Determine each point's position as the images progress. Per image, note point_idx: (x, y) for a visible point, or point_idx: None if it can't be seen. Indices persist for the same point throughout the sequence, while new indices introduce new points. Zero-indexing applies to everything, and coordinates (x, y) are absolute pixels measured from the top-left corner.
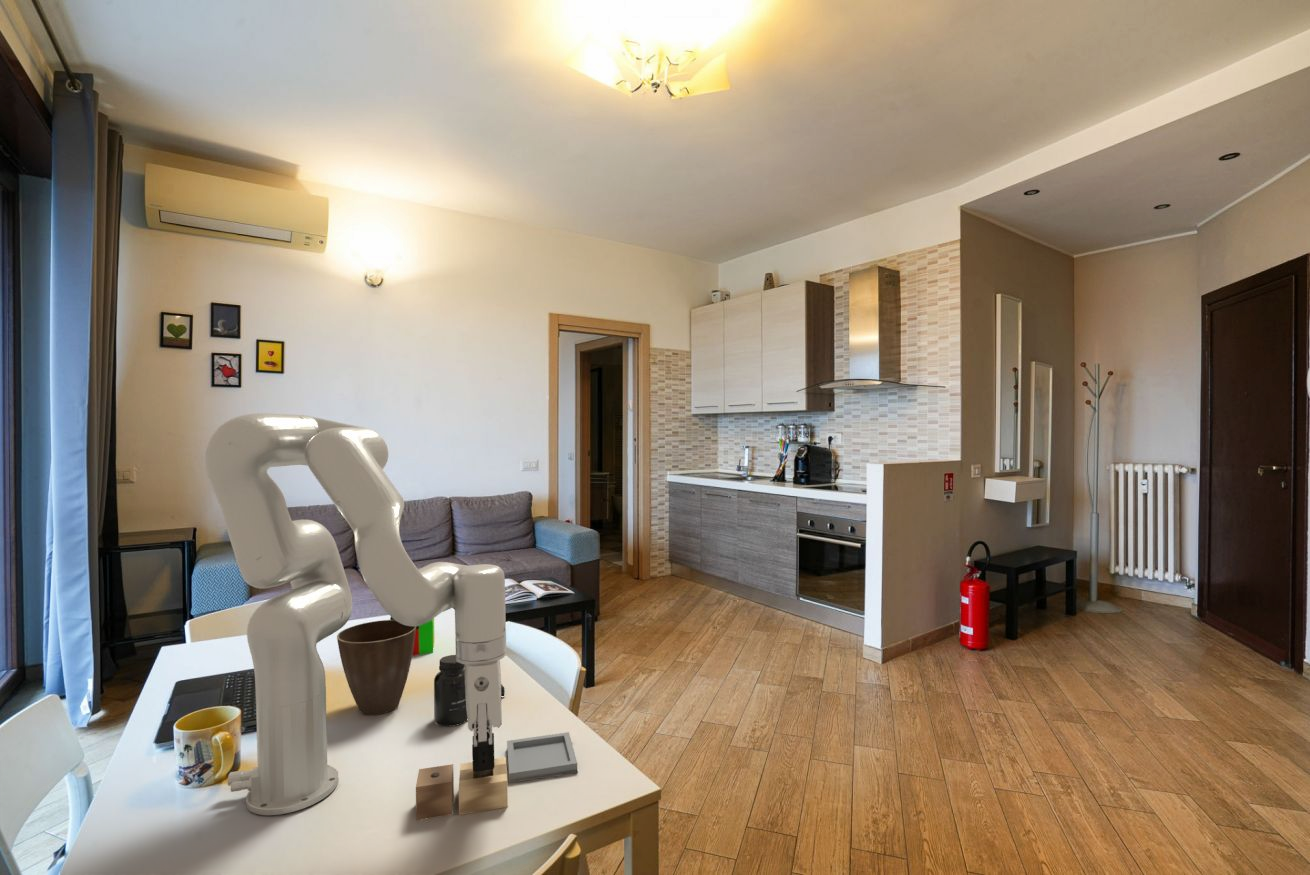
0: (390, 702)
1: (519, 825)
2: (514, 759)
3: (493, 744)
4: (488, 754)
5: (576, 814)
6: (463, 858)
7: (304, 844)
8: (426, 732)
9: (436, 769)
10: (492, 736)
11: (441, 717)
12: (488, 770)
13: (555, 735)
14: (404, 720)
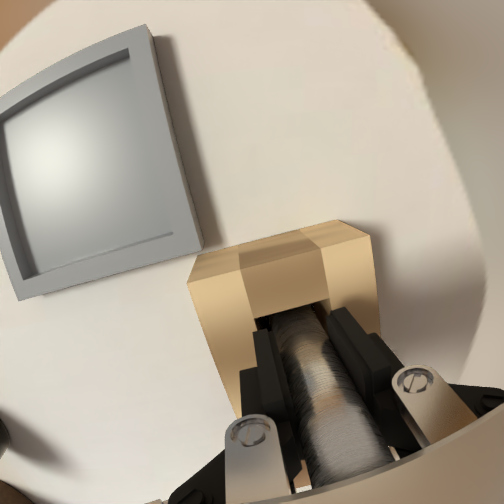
0: (13, 500)
1: (413, 172)
2: (110, 253)
3: (388, 362)
4: (392, 355)
5: (369, 29)
6: (481, 275)
7: None
8: (35, 455)
9: (303, 462)
10: (289, 398)
11: (2, 447)
12: (318, 324)
13: None
14: (23, 477)
